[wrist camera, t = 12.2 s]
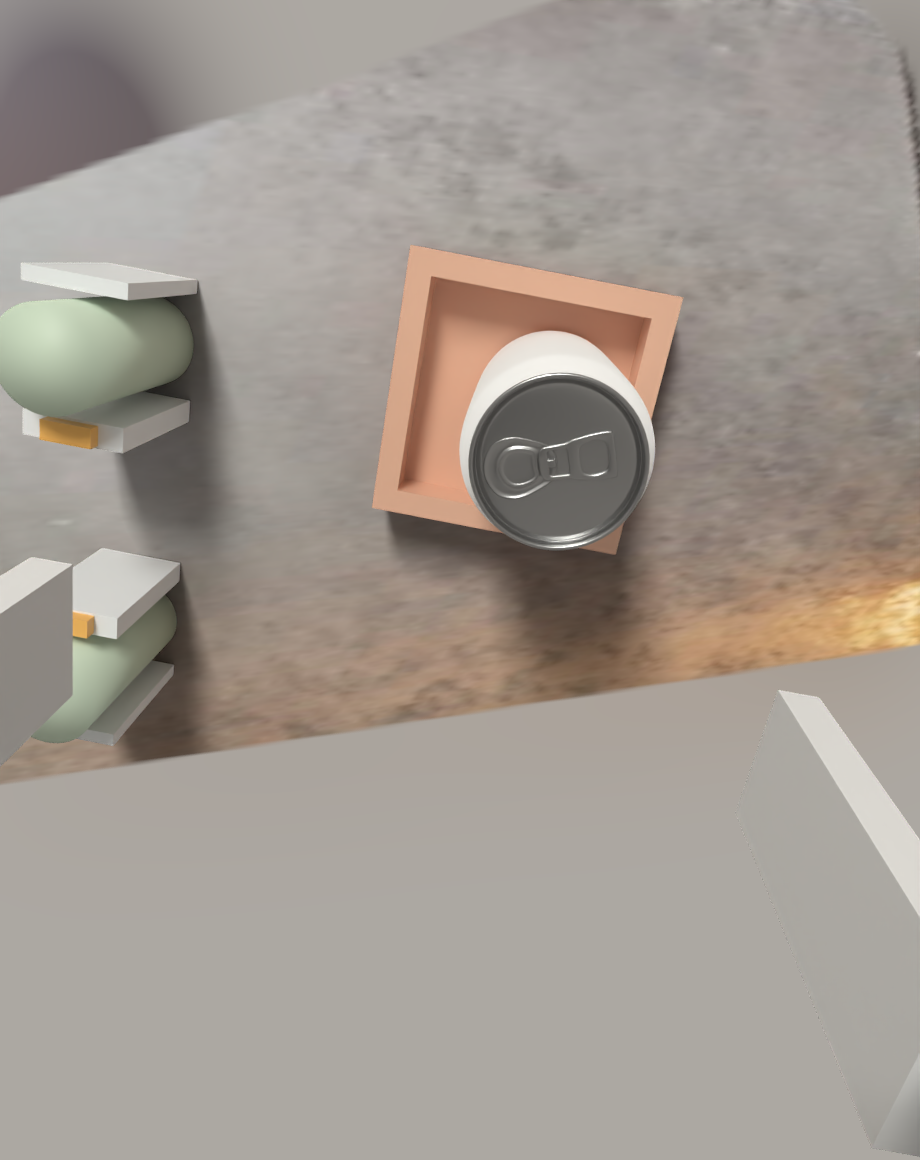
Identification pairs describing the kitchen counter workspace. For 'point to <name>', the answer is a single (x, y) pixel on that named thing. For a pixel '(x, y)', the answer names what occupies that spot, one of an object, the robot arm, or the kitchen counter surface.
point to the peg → (108, 671)
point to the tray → (468, 343)
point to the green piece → (90, 351)
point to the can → (555, 442)
